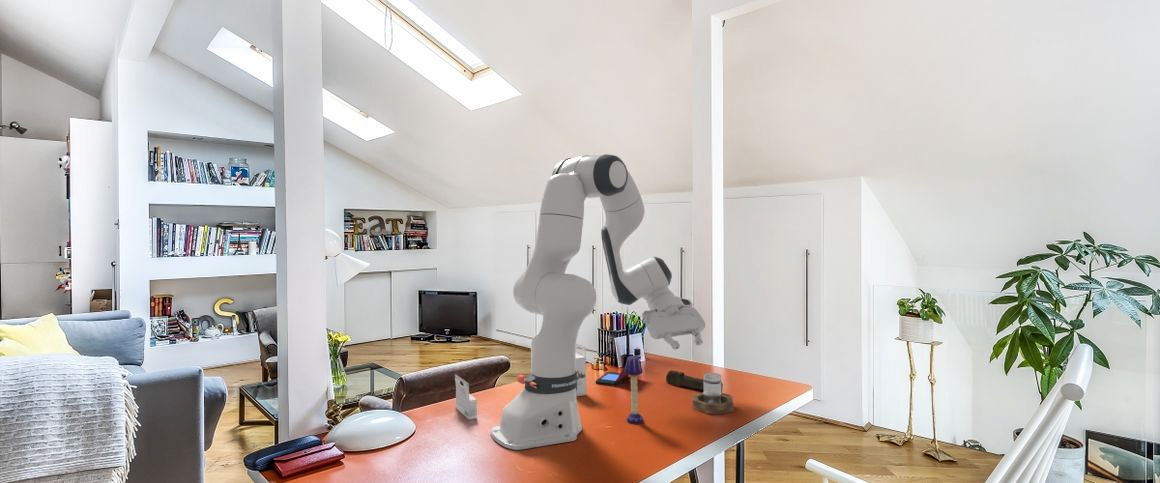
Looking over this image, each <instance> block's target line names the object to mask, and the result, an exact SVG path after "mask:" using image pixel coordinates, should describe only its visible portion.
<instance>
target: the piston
mask: <svg viewBox="0 0 1160 483" xmlns="http://www.w3.org/2000/svg"><path fill="white" fill-rule="evenodd" d="M703 381H704V391H703V392H704V402H706V403H716V404H720V403H721V394H722V393H721V383H722V375H721V374H719V373H715V372H706V373H703Z"/></svg>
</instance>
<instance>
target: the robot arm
mask: <svg viewBox="0 0 1160 483" xmlns="http://www.w3.org/2000/svg"><path fill="white" fill-rule="evenodd" d="M552 171H553V172H552V174H551V176H550V177H549V178H548V180H547V181H546V184H545V187H544V191H543V195H542V200H541V203H540V209H539V210H540V211H539V219H538V227H537V234H536V241H535V246H534V249H533V252H532V255H531V258H530V260H529V262H528V265H527V266H526V268H525V271H524V272H523V273H522V274H521V275H520V276H519V277H517V279H516V280H515V283H514V286H513V293H512V294H513V298H514V301H515V302H516V304H517V305H518V306H519V307H520V308H522V309H524V310H525V311H527V312H529V313H532V314H536V315H540V316H542V323H541V328H540V330H539V332H538V333H537V334H536V335H535V336H534V337H533V338H532V340H531V342H530V372H529V374H528V375H527V376H525V375H523V374H522V373H521V374H518V375H517V376H516V381H517V382H518V383H520V384H522V385H524V389H522V390H521V391H520V392H519V393H518V394H517V395H516V396H515V397H514V398H513V399H512V400H511V401H510V402H509V403H508V404H506V405H505V406H504V407H503V409H502V412H501V416H500V417H501V418H500V423H499V425H495V426H493V427H492V428H491V430H490V436H491V438H492V439H493V440H494V441H495V442H497V443H498V444H499V445H500V446H502V447H504V448H506V449H509V450H515V451H521V450H527V449H533V448H539V447H544V446H545V447H546V446H550V445H556V444H562V443H568V442H574V441H576V440H577V439H578V435H579V433H581V431H582V430H583V425H582V423H581V417H580V413H579V408H578V399H577V398H578V397H576V391H577V372H576V371H575V356H576V343H577V340H578V339H577V338H578V334H579V332H580V329H581V326H582V324H583V322H584V320H585V319H587V317H589V315H591V313H592V312H593V310H594V309H595V306H596V301H597V292H596V289H595V287H594V285H593V283H592V282H591V281H589V280H588V279H585V277H584V278H583V277H581V276H579V275H576V274H572V273H566V270H567V268H568V265H569V263H570V262H571V260H572V259H573V258H574V257H575V256H576V255H577V254H578V253H579V251H580V250H581V245H582V244H581V243H582V237H583V236H582V234H583V226H584V216H585V214H584V213H585V200H586V198H588V199H589V198H590V199H591V198H592V199H593V198H599V200H600V202H601V206H602V208H603V210H604V213H605V214H604V215H605V221H604V225H603V226H602V228H601V229H600V231H601V232H600V234H601V236H600V237H601V241H602V242H601V243H602V247H603V252H604V257H605V262H606V266H607V271H608V275H609V282H610V290H611V293H612V295H613V297H614V299H615V300H616V302H618V303H619V304H622V305H628V306H631V305H632V304H634V303H636V302H637V301H639V300H640V299H642V298H643V299H644V300H645V301H646V303H647V306H648V307H647V308H648V309H649V310H644V311H643V313H642V317H641V318H643V321H644V323H645V326H646V330H647V331H648V333H649V335H650V337H651V339H654V340H659V339H663V340H664V342H665V343H667V344H668V345H670V347H671V348H672V349H673V350H678V349H679V348H680V347H681V345H680V343H679V341H678V340H675V339H674V338H673V337H681V336H686V335H692V336H693V337H694V338H695V339H694V341H693V342H694V344H695V345H696V346H701V345H702V344H704V342H703V339H702V338H701V333H702V332H703V330H705V328H706V321H705V320H704V319H703V317H702V315H701V314H700V313H699V311H698V310H697V309H696V308H695V307H693V306H694V303H693V302H692V301H691V300H690V299H687V298H683V297H680V296H678V295H675V294H674V292H672V291H671V289H670V288H669V286H670V284H671V283H672V278H673V276H672V271H671V269H669V266H668V265H667V264H666V263H665V262H666V261H664V260H663V259H662V258H660V257H657V256H652V257H649V258H647V259H645V260H642V261H641V262H639V263H637V264H635V265H633V266H631V267H629V268H627V269H625V270H624V268H623V263H622V259H621V254H620V252H621V247H622V245H623V244H624V242H625V241H626V240H627V239H628V238H629V237H630V236H631V235H632V234H633V233H634V232H635V231H636V230H637V229H638V227H640V225H641V224H642V221H643V219H644V216H645V205H644V202H643V199H642V196H641V193H640V190H639V188H638V186H637V184H636V182H635V180H634V178H633V177H632V175H631V173H630V172H629V170H628V168H627V166H626V164H625V162H624V161H623V160H622V159H621V157H619V156H617V155H613V154H601V155H600V154H599V155H597V154H596V155H594V154H593V155H590V154H589V155H588V154H586V155H579V156H575V157H570V158H568V157H567V158H566V159H563V160H561V161H559V162H557V164H556V165H555V166H554V168H553V170H552Z"/></svg>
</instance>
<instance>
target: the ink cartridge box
mask: <svg viewBox="0 0 1160 483" xmlns="http://www.w3.org/2000/svg"><path fill="white" fill-rule="evenodd" d="M454 381H455V408H456V410H458V411H459V413H461V414H462V415H463V416H464V417H465V418H466V419H467V420H469V421H471V420H475V419H477V417H478V399H477V398H475V397H474V396H473V395H472V394H470V387H469V386H470V384H469V382H467V381H466V380H465V379H463V378H462V377H460V376H459V375H458V374H456V373H455V374H454ZM462 384H463V385H462Z"/></svg>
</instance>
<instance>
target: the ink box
mask: <svg viewBox="0 0 1160 483" xmlns="http://www.w3.org/2000/svg"><path fill="white" fill-rule="evenodd" d="M586 355H587V350H586V346H585V345H583V344H580V343H579V342H576V356H575V371H576V372H577V391H576V398H578V397H581V396H586V395H587V358H586Z"/></svg>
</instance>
